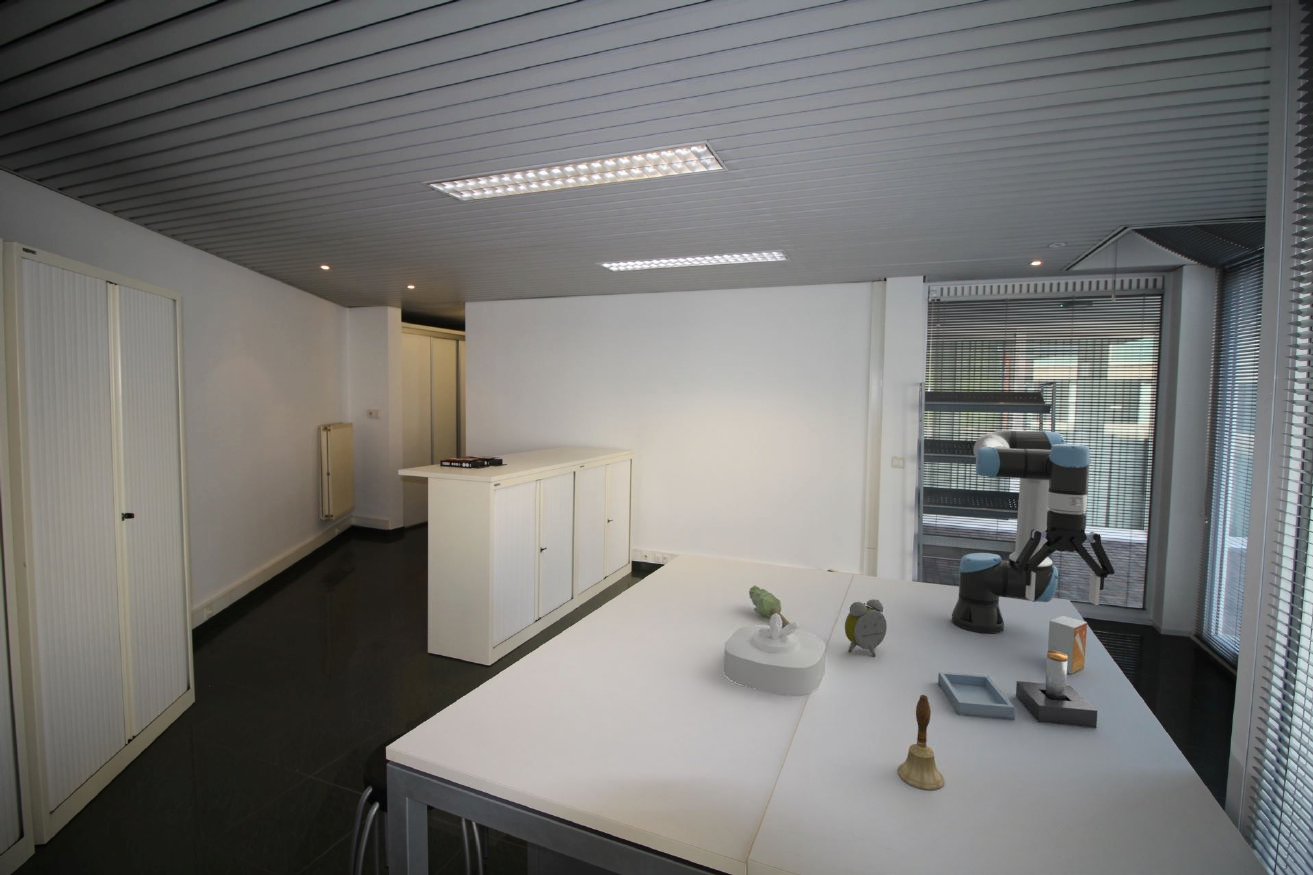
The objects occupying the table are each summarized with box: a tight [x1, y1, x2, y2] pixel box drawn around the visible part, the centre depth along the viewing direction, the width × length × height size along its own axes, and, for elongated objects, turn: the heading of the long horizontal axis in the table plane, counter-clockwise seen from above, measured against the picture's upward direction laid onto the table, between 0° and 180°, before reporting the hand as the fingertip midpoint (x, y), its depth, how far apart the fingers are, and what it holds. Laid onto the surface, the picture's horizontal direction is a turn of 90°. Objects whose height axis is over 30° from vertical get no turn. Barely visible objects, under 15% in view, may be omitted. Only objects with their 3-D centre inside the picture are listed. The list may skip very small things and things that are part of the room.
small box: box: [1047, 615, 1088, 675], centre depth 165 cm, size 8×6×13 cm
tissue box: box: [723, 613, 827, 697], centre depth 160 cm, size 25×25×16 cm
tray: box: [937, 671, 1016, 721], centre depth 146 cm, size 16×12×3 cm
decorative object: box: [748, 585, 790, 629], centre depth 199 cm, size 9×10×25 cm
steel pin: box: [1045, 650, 1068, 701], centre depth 140 cm, size 4×4×14 cm
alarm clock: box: [844, 598, 888, 657], centre depth 172 cm, size 12×7×15 cm, turn 112°
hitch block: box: [1015, 680, 1098, 729], centre depth 141 cm, size 12×12×4 cm
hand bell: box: [897, 694, 945, 791], centre depth 115 cm, size 8×8×16 cm
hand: (1061, 601), depth 139 cm, fingers open, 13 cm apart
